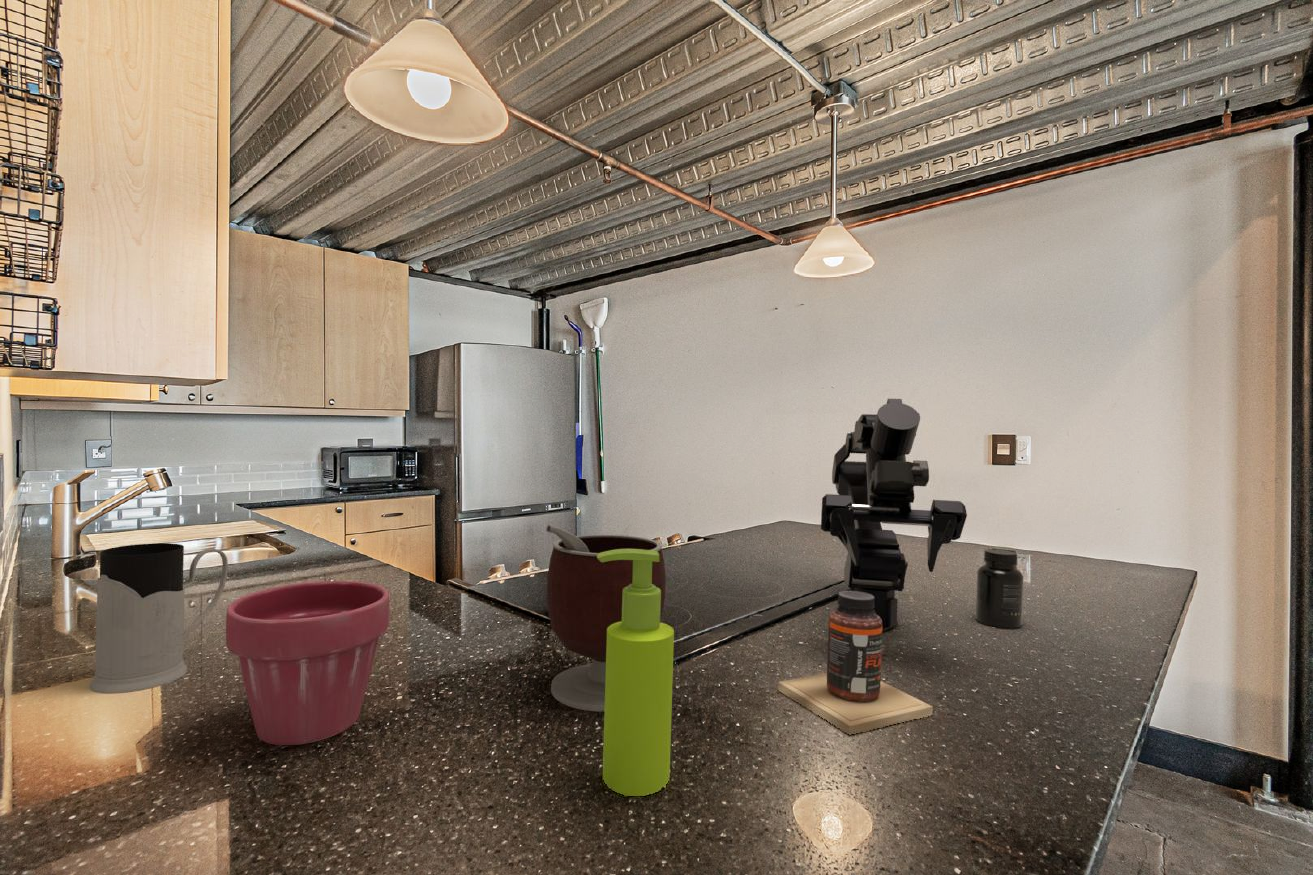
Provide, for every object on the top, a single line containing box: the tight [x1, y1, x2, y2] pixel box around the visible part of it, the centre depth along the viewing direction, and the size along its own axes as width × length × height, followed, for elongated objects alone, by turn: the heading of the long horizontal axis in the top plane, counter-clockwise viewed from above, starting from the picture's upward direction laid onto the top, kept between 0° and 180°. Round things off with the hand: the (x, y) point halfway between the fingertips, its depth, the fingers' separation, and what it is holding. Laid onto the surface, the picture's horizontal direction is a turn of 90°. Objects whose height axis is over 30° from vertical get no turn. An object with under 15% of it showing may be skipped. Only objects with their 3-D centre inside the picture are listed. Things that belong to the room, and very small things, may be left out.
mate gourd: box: [545, 524, 667, 712], centre depth 73 cm, size 16×14×20 cm
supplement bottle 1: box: [826, 590, 883, 701], centre depth 72 cm, size 6×6×11 cm
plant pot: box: [225, 580, 390, 746], centre depth 62 cm, size 14×14×13 cm
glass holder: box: [88, 542, 229, 694], centre depth 75 cm, size 9×14×15 cm, turn 160°
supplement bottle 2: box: [975, 549, 1024, 630], centre depth 105 cm, size 7×7×12 cm
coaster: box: [777, 672, 934, 736], centre depth 71 cm, size 12×12×1 cm
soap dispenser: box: [597, 549, 675, 797], centre depth 54 cm, size 6×7×20 cm
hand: (894, 567), depth 82 cm, fingers open, 9 cm apart
